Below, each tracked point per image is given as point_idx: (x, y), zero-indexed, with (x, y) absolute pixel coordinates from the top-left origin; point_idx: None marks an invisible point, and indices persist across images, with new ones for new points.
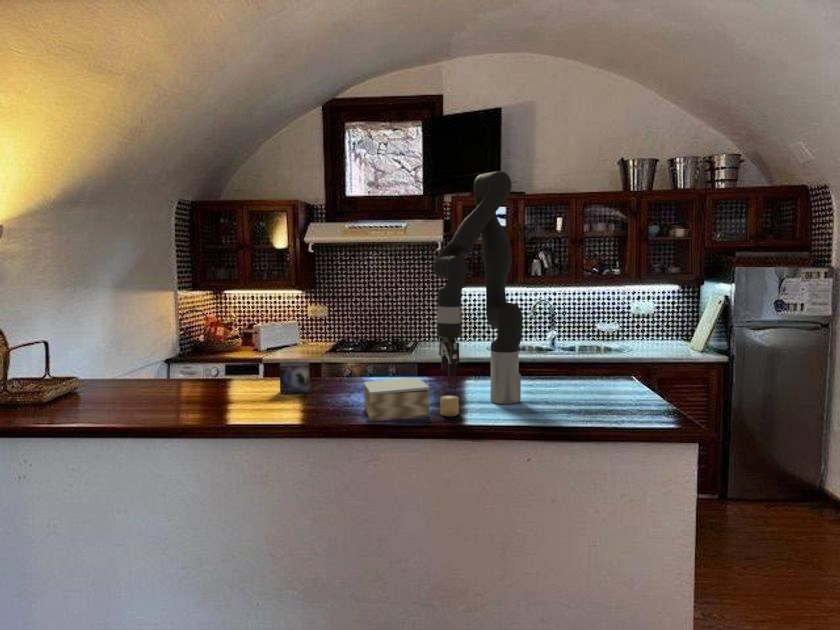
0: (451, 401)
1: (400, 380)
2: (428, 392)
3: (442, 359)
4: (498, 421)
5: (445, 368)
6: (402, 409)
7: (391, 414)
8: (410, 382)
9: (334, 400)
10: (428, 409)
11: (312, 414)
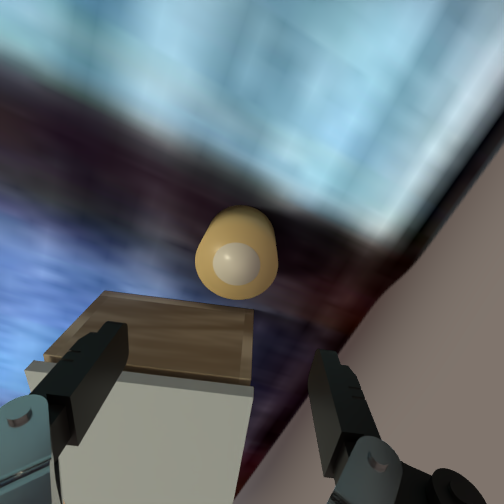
0: (276, 269)
1: None
2: (250, 377)
3: (78, 441)
4: (432, 102)
5: (120, 350)
6: None
7: None
8: (129, 423)
9: None
10: (252, 328)
11: None
